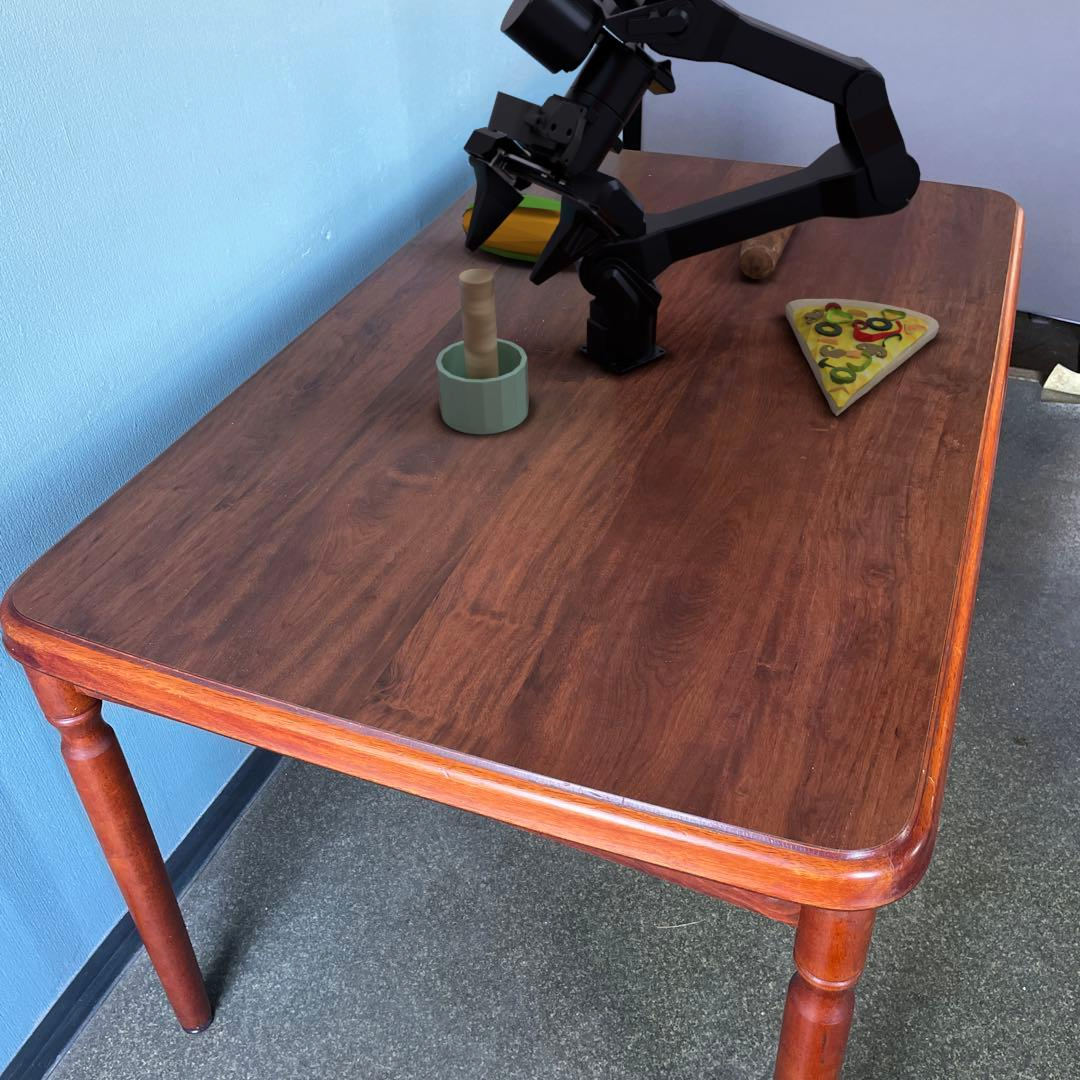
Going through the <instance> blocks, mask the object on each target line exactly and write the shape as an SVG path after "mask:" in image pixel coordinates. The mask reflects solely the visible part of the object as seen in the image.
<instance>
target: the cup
mask: <svg viewBox="0 0 1080 1080" xmlns="http://www.w3.org/2000/svg"><path fill="white" fill-rule="evenodd" d="M497 348H498V366H499V377H496V378H490V379H483V380H480V379H467V378H466V365H465V352H464V339H462V340H460V341H458V342H454V343H451V344H449V345H447V346H446V347H445V348H444V349H442V350H441V351H440V352H439V353H438V356H437V357H436V360H435V371H436V381H437V392H438V404H439V410H440V415H441V418H442V420H443V422H444V423H445V424H446V425H447V426H448V427H450V428H451V429H453V430H455V431H458V432H461V433H465V434H471V435H492V434H493V435H494V434H499V433H502V432H506V431H509V430H511V429H514V428H516V427H517V426H519V425H520V424H522V423H523V422H524V420H525V419H526V418H527V416H528V414H529V404H530V396H529V392H530V391H529V368H528V367H529V366H528V363H529V362H528V356H527V354H526V351H525V350H524V348H523V347H521V346H520V345H517V344H516V343H514V342H513V341H510V340H505V339H502V338H498V337H497Z"/></svg>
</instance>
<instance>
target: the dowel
mask: <svg viewBox="0 0 1080 1080" xmlns="http://www.w3.org/2000/svg"><path fill="white" fill-rule="evenodd" d="M458 284H459V296H460V297H459V298H460V308H461V323H462V325H461V326H462V337H463V340H464V352H465V365H466V378H467V379H480V380H483V379H490V378H496V377H499V366H498V348H497V338H498V333H497V311H496V295H495V294H496V293H495V276H494V273H493V272H492V271H491V270H489V269H485V268H470V269H466V270H464V271H462V272H460V274H459V275H458Z"/></svg>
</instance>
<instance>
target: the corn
mask: <svg viewBox="0 0 1080 1080" xmlns="http://www.w3.org/2000/svg"><path fill="white" fill-rule="evenodd" d="M520 194H521V195H522V196H523V197H525V198H524V200H523V201H522V202H521V203H520V204H519V205H518V206H517V207H516V208H515V210H514V211H513V212H512V213H511V214H510V215H509V216H508V217H507V218H506V219H505V221H504V222H503V223H502V224H501V225H500V226H499V227H498V228H497V229H496V230H495V232H494V233H493V234H492V235H491V236H490V237H489V238H488V239H487V240H486V241H485V242H484V243H483V244H482V245H481V246H480V247H479V248H480V249H482V250H484V251H485V252H489V253H491V254H495V255H498V256H500V257H504V258H507V259H508V258H509V259H514V260H520V261H526V262H533V263H536V262H537V260H538V258H539V256H540V255H541V253H542V251H543V249H544V248H545V246H546V244H547V242H548V241H549V239H550V237H551V235H552V234H553V232H554V230H555V228H556V227H557V225H558V223H559V220H560V210H561V201H559V200H557V199H555V198H554V199H553V198H549V197H543V196H537V195H533V194H532V195H531V194H530V195H529V194H526V193H520ZM473 206H474V202H472V203H470V204H469V205H468V207H467V208H466V209H465V211H464V213H463V214H462V216H461V217H462V224H461V226H462V229H463V231H464V233H465V235H466V236H467V232H468V228H469V223H470V219H471V215H472V210H473Z"/></svg>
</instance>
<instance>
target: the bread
mask: <svg viewBox="0 0 1080 1080" xmlns="http://www.w3.org/2000/svg"><path fill="white" fill-rule="evenodd" d="M795 228H796V225H793V226H790V227H787V228H783V229H780V230H777V231H774V232H770V233H767V234H764V235H761V236H758V237H754V238H751V239H748V240H745V241H741V247H740V249H741V250H740V256H739V261H738V266H739V269H740V271H741V272H742V273H743V274H744V275H745V276H746V277H748V278H750V279H753V280H763V279H766V278H768V277H770V276H771V275H772V274H773V272H774V270H775V269H776V266H777V263H778V261H779V259H780V258H781V256H782V254H783V251H784V249H785V247H786V245H787V244H788V242H789V239H790V237H791V235H792V232H793V230H794V229H795Z"/></svg>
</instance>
